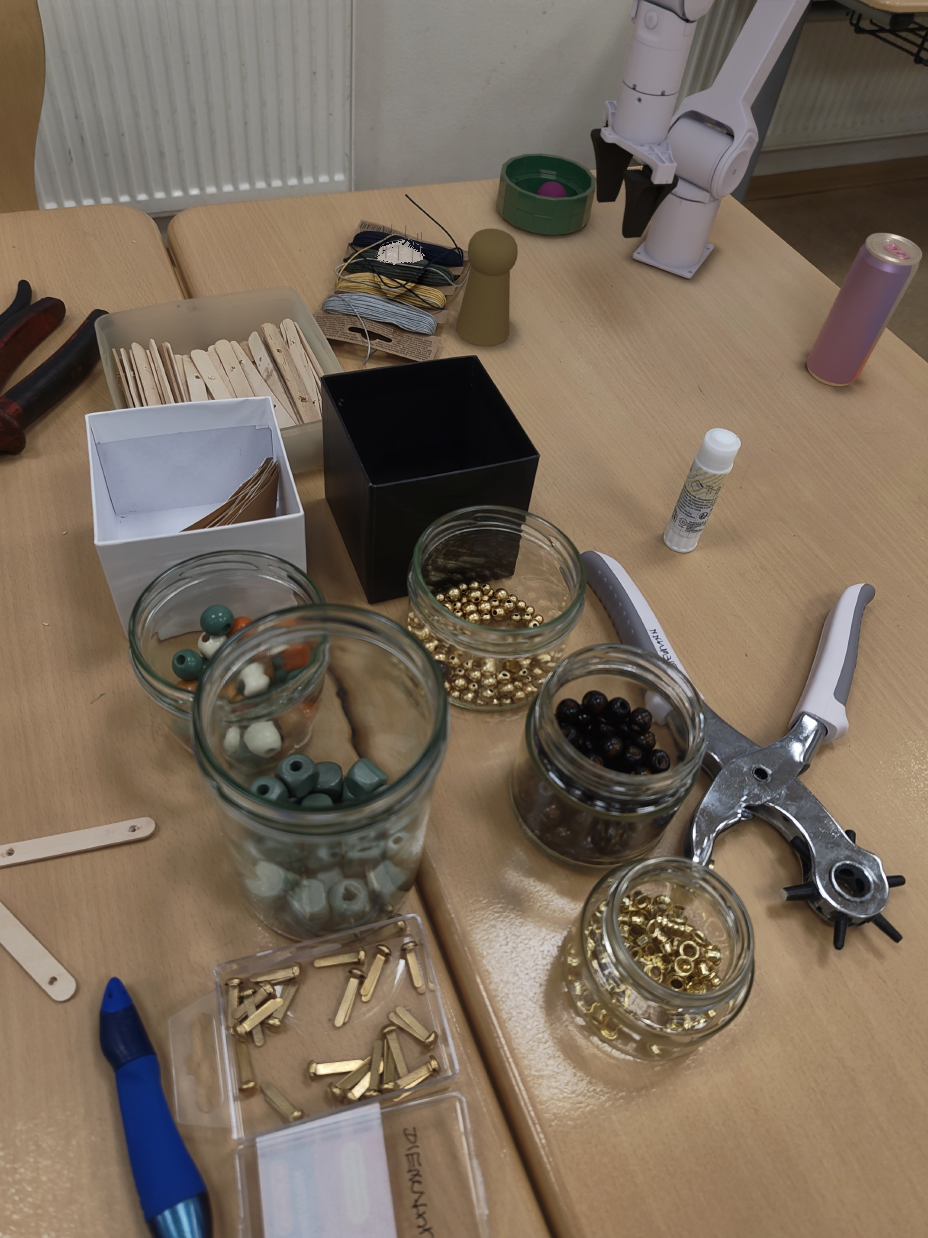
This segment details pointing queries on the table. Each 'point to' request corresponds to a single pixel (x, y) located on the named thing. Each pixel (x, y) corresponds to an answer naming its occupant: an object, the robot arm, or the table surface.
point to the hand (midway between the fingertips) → (618, 217)
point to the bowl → (541, 211)
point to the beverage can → (863, 308)
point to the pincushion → (399, 251)
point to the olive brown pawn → (487, 288)
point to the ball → (552, 190)
